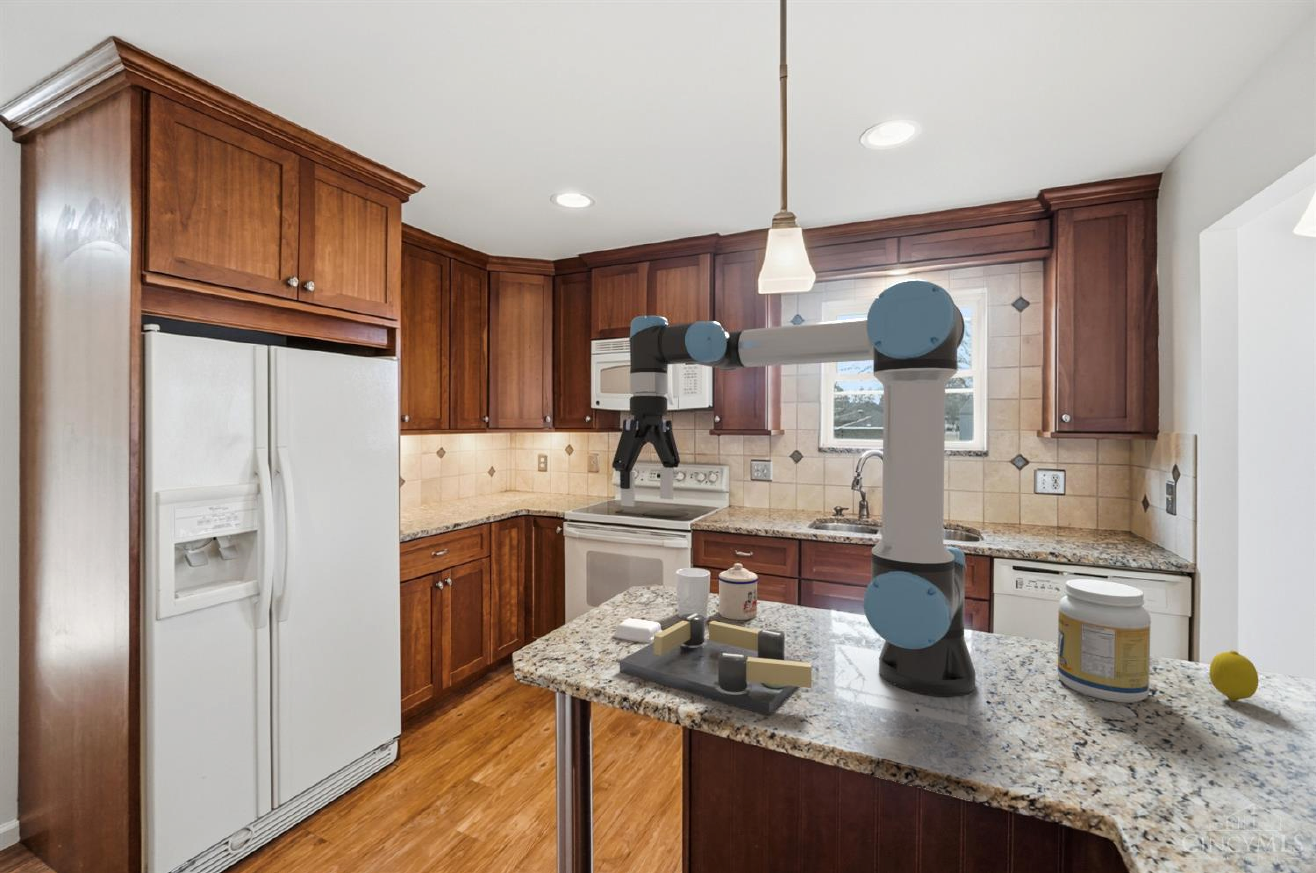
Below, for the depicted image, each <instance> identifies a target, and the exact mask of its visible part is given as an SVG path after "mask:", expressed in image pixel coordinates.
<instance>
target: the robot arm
mask: <svg viewBox="0 0 1316 873" xmlns="http://www.w3.org/2000/svg"><path fill="white" fill-rule="evenodd" d="M965 328H966V325H965V320H964V316H963V314H962V312H961V310H960V309H959V307H958V306H957V305H956V304H955V302H954V299H953V298H952V296H951V294H950V293H949V292H948V291H947V290H946V289H944V288H943V287H942V286H940V285H938V284H935V283H933V282H931V281H929V280H925V279H916V278H915V279H906V280H902V281H898V282H895V283H894V284H892V285H890V286H888V287H887V288H885V289H884V290H883V291H882V292H881V293H879V295H878V296H877V297H876V298H875V299H874V301H873V302H872V303H871V305H870V308H869V310H868V312H867V316H866V318H865V317H864V318H855V319H853V318H851V319H846V320H845V319H843V320H834V321H823V322H813V323H804V324H802V323H801V324H794V325H784V326H783V325H782V326H781V325H780V326H772V327H762V328H751V329H742V330H732V331H725V329H724V327H722V325H721V324H720V323H719V322H718V321H715V320H713V321H712V320H711V321H709V320H708V321H704V320H698V321H696V322H688V323H680V324H671V325H670V324H669V321H668V319H667V318H666V317H664V316H661V315H640V316H636V317H634V318H633V319H632V320H631V322H630V332H629V333H630V334H629V338H628V340H629V342H628V343H629V357H630V358H629V361H630V362H629V364H630V369H629V381H630V382H629V394H631V395H632V396H630V398H629V414H630V415H631V416H633V418H632V419H628V418H627V419H623V421H622V431H621V434H620V438H619V441H618V444H617V447H616V450H615V451H616V452H615V455H614V457H613V461H612V464H611V465H612V468H613V469H614V470H615V472H619V487H620V506H623V507H635V506H636V503H635V502H636V499H635V498H636V496H635V495H636V487H635V486H636V483H635V482H636V480H635V478H636V474H635V473H636V471H633V469H634V466H635V464H636V462H637V460H638V458H639V456H640V454H641V452H642V449H643V447H644V446H646V445H647V443H650V444H652V446H653V448H654V450H655V452H656V454H657V456H658V458H659V460H660V463H661V464H662V467H660V470H659V472H660V473H659V475H660V477H659V478H660V479H659V480H660V482H659V483H660V485H659V486H660V487H659V489H660V490H659V493H660V495H659V496H660V497H659V499H663V500H674V468H679V464H680V462H681V459H680V455H679V451H678V448H677V443H676V440H675V437H674V433H673V422H672V420H670V419H668V420H667V419H663V417H664V416H666V415H667V414H668V398H667V396H666V395H667V394H668V392H669V390H668V388H669V387H668V385H669V384H668V377H669V376H668V375H669V374H668V370H669V369H668V368H669V365H681V364H682V365H683V364H694V365H700V366H704V367H705V366H706V367H711V368H717V369H719V370H722V371H737V370H739V369H741V368H754V367H771V366H772V367H773V366H775V367H776V366H788V365H789V366H790V365H806V364H808V365H810V364H826V363H828V364H829V363H843V362H844V363H845V362H846V363H847V362H862V361H863V362H865V361H873V362H872V363H873V370H872V371H873V374H872V375H873V376H874V377H875V378H876V380H878V381H879V382H880V383H881V385H882V386H883V411H882V412H883V413H882V414H883V416H882V417H883V418H882V420H883V421H882V424H883V425H882V426H883V428H882V429H883V431H882V501H881V503H882V505H881V506H882V508H881V509H882V510H881V512H882V513H881V516H882V517H881V521H882V522H881V524H882V525H881V526H882V528H881V540H880V541H879V542H878V543H877V544H876V545H874V546H873V547H872V548H871V555H870V556H871V557H870V558H871V561H870V562H871V564H870V565H871V566H870V569H871V570H870V582H869V583H868V584H867V587H866V589H865V591H864V592H865V593H864V596H863V602H862V603H863V610H864V615H865V617H866V619H867V622H868V623H869V625H870V626H871V628H872V630H874V631H875V633H877V635H879V637H881V638H882V639H883V640H884V644H883V645H882V646H883V647H882V649H881V652H880V655H879V656H878V657H879V658H878V673H879V674H880V675H881V677H882V678H884V679H885V680H886V681H887V682H889V683H891V684H893V685H894V686H897V687H898V688H901V689H904V690H907V691H910V692H913V693H918V694H922V695H928V696H937V697H958V696H963V695H968V694H970V693H972V692H973V691H974V690H975V689H976V676H977V674H976V670H975V668H974V664H973V661H972V658H971V654H970V652H969V649H968V645H967V643H966V642H967V641H966V640H965V639H966V638H965V593H966V592H965V587H966V586H965V582H966V579H965V576H966V574H965V573H966V570H967V564H966V556H965V552H964V551H963V550H961V549H960V548H958V547H954V546H948V545H945V544H944V519H945V518H944V514H945V512H944V511H945V510H944V509H945V508H944V507H945V506H944V505H945V504H944V503H945V500H944V499H945V437H946V436H945V431H946V430H945V428H946V426H945V425H946V423H945V422H946V419H945V418H946V384H947V382H948V381H949V380H951V378H953V377H954V376H955V375H956V374H958V373H957V372H958V369H957V366H958V348H960V346H961V344H962V341H963V339H964V336H965V330H966V329H965Z"/></svg>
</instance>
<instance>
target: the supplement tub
mask: <svg viewBox="0 0 1316 873" xmlns="http://www.w3.org/2000/svg"><path fill="white" fill-rule="evenodd" d="M1063 592H1064V593H1065V596H1063V597H1061V598H1060V600H1059V603H1058V607H1057V608H1058V615H1057V616H1058V620H1057V622H1058V623H1057V624H1058V626H1057V627H1058V629H1057V630H1058V631H1057V633H1058V634H1057V635H1058V637H1057V669H1056V670H1057V675H1058V678H1059V679H1060V681H1061V682H1062V683H1063V684H1064V685H1066V687H1068V688H1070V689H1072V690H1073V691H1075V692H1078V693H1081V694H1083V695H1086V696H1089V697H1093V698H1097V699H1099V700H1100V699H1101V700H1106V701H1111V702H1114V703H1115V702H1116V703H1137V702H1140V701H1144V700H1145V699H1146V698H1147V697H1148V696H1149V694H1150V690H1151V689H1150V670H1151V668H1150V663H1151V661H1150V660H1151V624H1152V621H1151V620H1152V618H1151V616H1150V614H1149V612H1148V610H1146V608H1145V607H1143V606H1144V604H1145V600H1144V592H1143V591H1142V590H1141V589H1139V588H1137V587H1134V586H1130V585H1127V584H1123V583H1118V582H1114V581H1107V580H1101V579H1090V578H1088V579H1087V578H1080V579H1079V578H1078V579H1077V578H1075V579H1068V580H1067V581H1066V582H1065V589H1064V591H1063Z"/></svg>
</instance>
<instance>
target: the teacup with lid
mask: <svg viewBox="0 0 1316 873" xmlns="http://www.w3.org/2000/svg"><path fill="white" fill-rule="evenodd" d="M717 579H718V580H719V582H718V591H719V592H718V614H719V615H720V617H723V618H725V619H727V620H728V619H729V620H733V621H746V620H751V619H754V618H756V617H757V614H758V581H759V576H758V575H757V574H756V573H754V572H752V571H749V569H746V568H744V567H743V564H742V563H738V562H737V563H734V564H733V567H731V568H728V569H727V570H724V571H722V572H720V573H719V574H718V576H717Z"/></svg>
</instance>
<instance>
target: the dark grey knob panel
mask: <svg viewBox="0 0 1316 873" xmlns="http://www.w3.org/2000/svg"><path fill="white" fill-rule="evenodd" d="M727 651H735V652H740V653H743V654H745V655H747V657H753V658H758V652H757V651H753V650H749V649H744V648H740V647H736V646H732V645H727V644H723V643H719V642H714V641H710V640H709V638H705V637H704V642H703V643H702V644H698V645H689V644H684V643H682V644H681V645H679V646H677V647H676V648H674V649H672V650H671V651H669V652H667V653H665V654H664V655H662V656H660V655H656V654H654V642H652V643H649V644H648V645H646V646H644V647H642V648H640V649H638V650H637V651H635V652H633V653H631V654H629V655H627V656H626V657H624V658H621V659H620V660H619V673H622V674H624V675H629V676H631V677H635V678H639V679H640V680H641V679H642V680H646V681H649V682H652V683H656V684H658V685H662V686H666V687H669V688H672V689H675V690H678V691H683V692H685V693H688V694H691V695H692V694H693V695H695V696H699V697H703V698H706V699H709V700H713V701H717V702H719V703H723V704H727V705H729V706H730V705H731V706H734V707H736V708H740V709H743V710H746V711H750V712H752V713H753V712H754V713H757V714H760V715H763V716H767V717H770V716H771V715H772V714H773V713H774V712H775V711H776V710H777V709H778V708H779V707H780V706H781V705H782V704H783V703H784V701H786V699H788V698H789V697H790V696H791V694H793V693H794V692H795V691H796V689H797V688H798V687H797V686H786V687H783V688H771V687H768V686H765V685H764V684H763V683H759V682H749V681H748V686H747V688H746V689H744V690H740V691H729V690H725V689H723V688H721V687H720V686H719V685H718V656H719V654H720V653H723V652H727ZM784 660H785V661H795V662H806V663H810V662H809V661H804V660H800V659H795V658H791V657H786V656H784Z"/></svg>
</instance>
